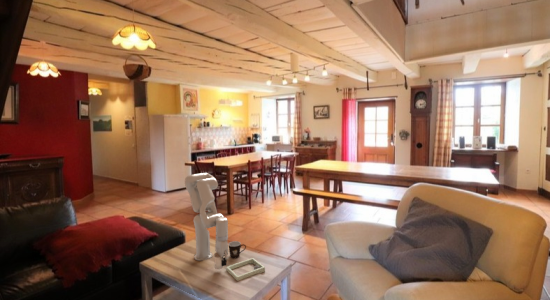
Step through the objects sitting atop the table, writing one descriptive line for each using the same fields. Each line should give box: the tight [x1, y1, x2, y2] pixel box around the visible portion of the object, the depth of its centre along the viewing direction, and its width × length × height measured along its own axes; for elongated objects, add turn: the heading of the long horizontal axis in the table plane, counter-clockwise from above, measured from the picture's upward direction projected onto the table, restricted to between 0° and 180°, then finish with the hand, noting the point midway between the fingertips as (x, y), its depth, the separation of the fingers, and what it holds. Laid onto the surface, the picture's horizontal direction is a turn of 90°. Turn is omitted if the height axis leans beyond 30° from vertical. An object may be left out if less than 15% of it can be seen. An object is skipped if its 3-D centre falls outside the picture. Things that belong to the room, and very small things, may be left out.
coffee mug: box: [228, 240, 247, 259], centre depth 200 cm, size 12×9×10 cm
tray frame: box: [225, 257, 266, 282], centre depth 182 cm, size 15×20×3 cm
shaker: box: [213, 252, 224, 270], centre depth 180 cm, size 5×5×9 cm
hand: (222, 263), depth 182 cm, fingers closed on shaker, 4 cm apart
